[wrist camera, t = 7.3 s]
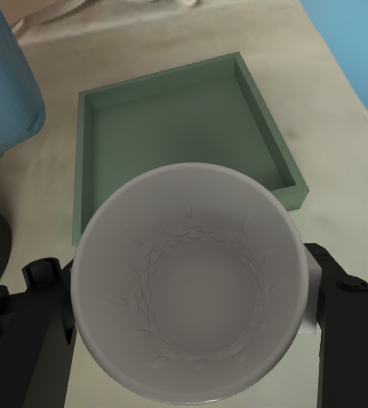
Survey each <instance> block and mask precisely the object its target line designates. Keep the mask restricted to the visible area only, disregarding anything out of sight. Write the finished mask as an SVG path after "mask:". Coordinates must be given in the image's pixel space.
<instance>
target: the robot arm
mask: <svg viewBox="0 0 368 408" xmlns="http://www.w3.org/2000/svg"><path fill="white" fill-rule="evenodd" d="M45 117H46V112H45V105H44V101H43V98H42V95H41V92H40V90H39V87H38V85H37V83H36V80H35V78H34V76H33V73H32V71H31V69H30V67H29V65H28V63H27V60H26V58H25V56H24V54H23V52H22V50H21V48H20V46H19V44H18V42H17V40H16V38H15V36H14V34H13V32H12V30H11V28H10V26H9V25H8V23H7V21H6V19H5V17H4V15H3V14H2V12H1V10H0V157H1V156H3V153H4V152H5V151H7V150H8V149H10V148H12V147H14V146H16V145H18V144H19V143H21V142H23V141H25V140H27V139H29V138H31V137H32V136H34V135H36V134H37V133H38V132H39V131H40V130H41V128H42V127H43V125H44V122H45ZM303 245H304V248H305V252H306V257H307V263H308V273H309V288H308V298H307V304H306V309H305V313H304V316H303V320H302V322H301V325H300V328H299V330H298V332H297V333H308V334H316V325H317V322H318V324H319V326H320V328H321V330H322V333H321V343H320V352H319V357H320V362H319V379H318V396H317V408H368V283H367V282H366V281H364V280H362V279H360V278H358V277H355V276H351V275H348V274H347V273H346V272H345V271H344V270H343V269H342V267H341V266H340V265H339V264H338V263H337V262H336V261H335V259H334V258H333V257H332V256H330V254H329V252H328V251H327V250H326V249H325V248H323V247H322V246H320V245H318V244H316V243H303ZM9 250H10V231H9V227H8V224H7V222H6V220H5V219H4V217H3V216H2V215H1V214H0V277H1V275H2V273H3V270H4V268H5V265H6V263H7V259H8V255H9ZM73 261H74V259H72V260H71V261H70V262H69V264H67V265H66V266H65V267H64V268H63V269H62V270H61V267H60V263H59V259H57V258H53V257H49V258H43V259H39V260H36V261H33V262H31V263H29V264H28V265H26V266H25V267H24V268H23V269H22V272H23V275H24V278H25V282H26V285H27V290H26V291H25V292H22V293H17V294H12V295H9V292H8V289H7V287H6V286H4V285H0V408H64V404H65V398H66V393H67V387H68V381H69V375H70V369H71V364H72V358H73V352H74V346H75V340H76V335H77V329H76V325H75V318H74V314H73V309H72V302H71V272H72V266H73Z"/></svg>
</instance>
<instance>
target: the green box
mask: <svg viewBox="0 0 368 408" xmlns="http://www.w3.org/2000/svg"><path fill="white" fill-rule="evenodd" d="M191 162H195V163H208V164H215V165H219V166H223V167H227V168H230V169H233V170H235V171H238V172H240V173H242V174H244V175H246V176H248V177H250V178H252V179H253V180H255V181H257V182H258V183H259V184H261V185H262V186H263V187H265V188H266V189H267V190H268V191H269V192H271V193H272V194H273V195H274V196H275V197H276V198H277V199H278V200H279V202H280V203H281V204H282V205H283V206H284V208H285V209H286V210H287V211H292V210H296V209H299V208H300V207H301V205H302V203H303V201H304V200H305V198H306V196H307V194H308V192H309V191H310V190H309V188H308V187H307V185H306V183H305V181H304V179H303V177H302V175H301V173H300V171H299V169H298V167H297V165H296V163H295V161H294V159H293V157H292V155H291V153H290V151H289V149H288V147H287V145H286V143H285V141H284V139H283V137H282V135H281V133H280V131H279V129H278V127H277V125H276V123H275V121H274V119H273V118H272V116H271V114H270V112H269V110H268V108H267V106H266V104H265V102H264V100H263V98H262V96H261V94H260V92H259V90H258V88H257V86H256V84H255V82H254V80H253V78H252V76H251V74H250V72H249V70H248V68H247V66H246V64H245V62H244V60H243V58H242V56H241V54H240V52H235V53H231V54H228V55H224V56H220V57H216V58H212V59H208V60H204V61H200V62H196V63H193V64H189V65H185V66H181V67H177V68H173V69H169V70H165V71H161V72H158V73H154V74H150V75H146V76H142V77H138V78H134V79H130V80H126V81H123V82H119V83H115V84H111V85H107V86H103V87H99V88H95V89H92V90H88V91H84V92H80V93H79V101H78V123H77V144H76V166H75V188H74V209H73V231H72V245H73V246H74V247H76V248H77V246H78V244H79V241H80V239H81V236H82V234H83V232H84V230H85V228H86V226H87V224H88V223H89V221H90V220H91V218H92V217H93V215H94V214H95V212H96V211H97V210H98V208H99V207H100V206H101V205H102V204H103V203H104V202H105V200H106V199H107V198H108V197H109V196H111V195H112V194H113V193H114V192H115V191H116V190H117V189H119V188H120V187H121V186H123V185H124V184H125V183H127V182H129V181H130V180H132V179H133V178H135V177H137V176H139V175H141V174H143V173H145V172H148V171H150V170H153V169H156V168H159V167H163V166H167V165H171V164H178V163H191Z"/></svg>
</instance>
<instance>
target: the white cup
mask: <svg viewBox="0 0 368 408" xmlns="http://www.w3.org/2000/svg"><path fill="white" fill-rule="evenodd" d="M308 288H309V273H308V263H307V257H306V252H305V248H304V245H303V242H302V239H301V236H300V234H299V231H298V229H297V227H296V225H295V223H294V221H293V220H292V218H291V216H290V215H289V213H288V212H287V210H286V209H285V208H284V206H283V205H282V204H281V203H280V202H279V200H278V199H277V198H276V197H275V196H274V195H273V194H272V193H271V192H269V191H268V190H267V189H266V188H265V187H263V186H262V185H261V184H259V183H258V182H257V181H255V180H253V179H252V178H250V177H248V176H246V175H244V174H242V173H240V172H238V171H235V170H233V169H230V168H227V167H223V166H219V165H215V164H208V163H195V162H191V163H178V164H171V165H167V166H163V167H159V168H156V169H153V170H150V171H148V172H145V173H143V174H141V175H139V176H137V177H135V178H133V179H132V180H130V181H129V182H127V183H125V184H124V185H123V186H121V187H120V188H119V189H117V190H116V191H115V192H114V193H113V194H112V195H111V196H109V197H108V198H107V199H106V200H105V202H104V203H103V204H102V205H101V206H100V207H99V208H98V210H97V211H96V212H95V214H94V215H93V217H92V218H91V220H90V221H89V223H88V224H87V226H86V228H85V230H84V232H83V234H82V236H81V239H80V241H79V244H78V246H77V249H76V253H75V256H74V261H73V266H72V272H71V302H72V309H73V314H74V318H75V322H76V325H77V328H78V331H79V333H80V336H81V338H82V340H83V342H84V344H85V346H86V347H87V349H88V351H89V352H90V354H91V355H92V357H93V358H94V360H95V361H96V362H97V363H98V365H99V366H100V367H101V368H102V369H103V370H104V371H105V372H106V373H107V374H108V375H109V376H110V377H111V378H113V379H114V380H115V381H116V382H118V383H119V384H120V385H122V386H123V387H125V388H127V389H128V390H130V391H132V392H134V393H136V394H138V395H140V396H142V397H145V398H147V399H150V400H153V401H157V402H161V403H166V404H173V405H200V404H207V403H212V402H216V401H220V400H223V399H226V398H228V397H231V396H233V395H236V394H238V393H240V392H242V391H244V390H245V389H247V388H249V387H250V386H252V385H253V384H255V383H256V382H258V381H259V380H260V379H262V378H263V377H264V376H265V375H266V374H268V373H269V372H270V371H271V370H272V369H273V368H274V367H275V366H276V364H277V363H278V362H279V361H280V360H281V359H282V357H283V356H284V355H285V353H286V352H287V350H288V349H289V347H290V346H291V344H292V342H293V340H294V338H295V337H296V334H297V332H298V330H299V328H300V325H301V322H302V320H303V316H304V313H305V309H306V304H307V298H308Z"/></svg>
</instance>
